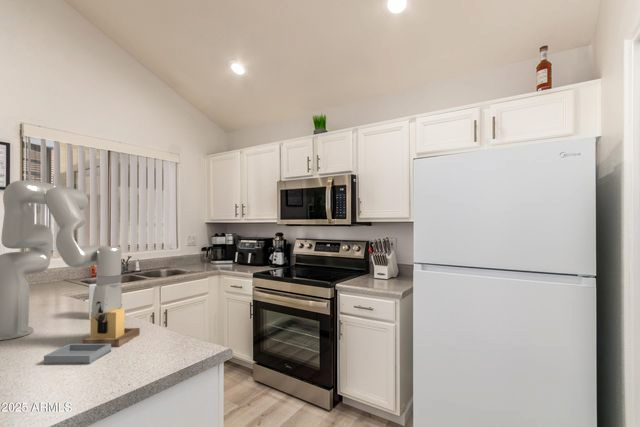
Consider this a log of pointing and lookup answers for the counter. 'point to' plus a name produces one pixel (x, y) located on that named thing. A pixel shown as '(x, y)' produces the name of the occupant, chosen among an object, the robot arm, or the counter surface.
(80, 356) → the grey tray
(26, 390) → the counter surface
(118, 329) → the yellow block
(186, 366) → the counter surface
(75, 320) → the counter surface
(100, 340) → the walnut bay
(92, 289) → the skincare box
